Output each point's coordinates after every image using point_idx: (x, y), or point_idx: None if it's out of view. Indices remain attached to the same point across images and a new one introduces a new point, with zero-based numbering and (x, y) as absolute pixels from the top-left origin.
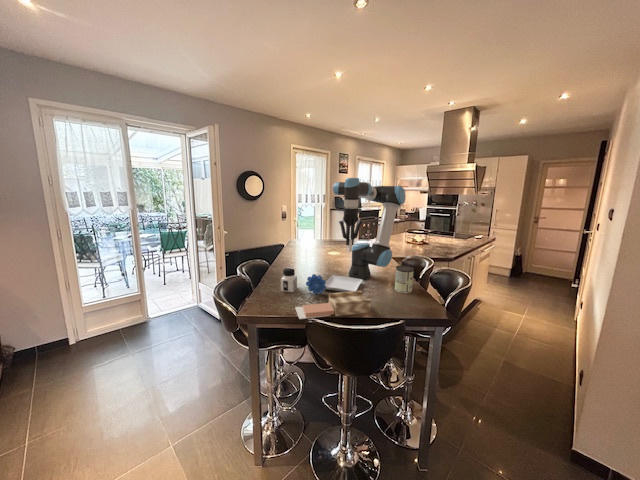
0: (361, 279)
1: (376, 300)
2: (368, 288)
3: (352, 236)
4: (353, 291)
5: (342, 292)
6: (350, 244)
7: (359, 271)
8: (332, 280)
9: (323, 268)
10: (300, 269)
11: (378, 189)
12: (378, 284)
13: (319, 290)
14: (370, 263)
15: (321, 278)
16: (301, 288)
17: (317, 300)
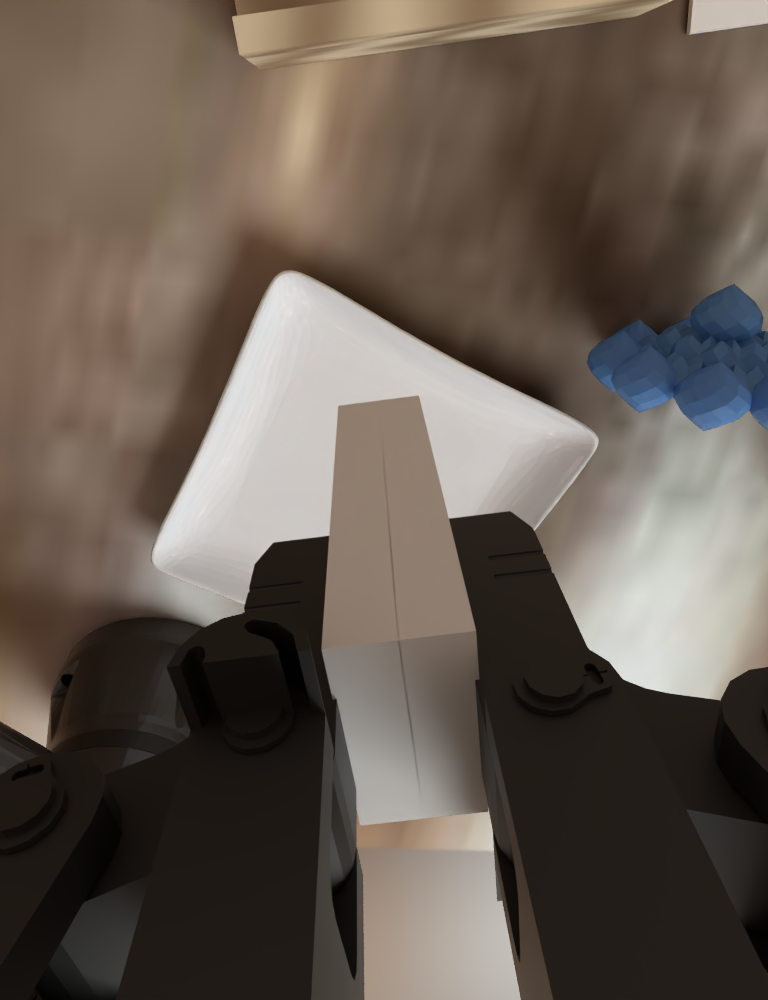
0: (162, 567)
1: (71, 97)
2: (118, 426)
3: (287, 838)
4: (352, 29)
5: (510, 5)
6: (396, 504)
7: (158, 686)
8: None
9: (439, 840)
10: None
11: None
12: (3, 511)
13: (655, 334)
14: (2, 723)
15: (693, 379)
16: (751, 476)
17: (705, 174)
